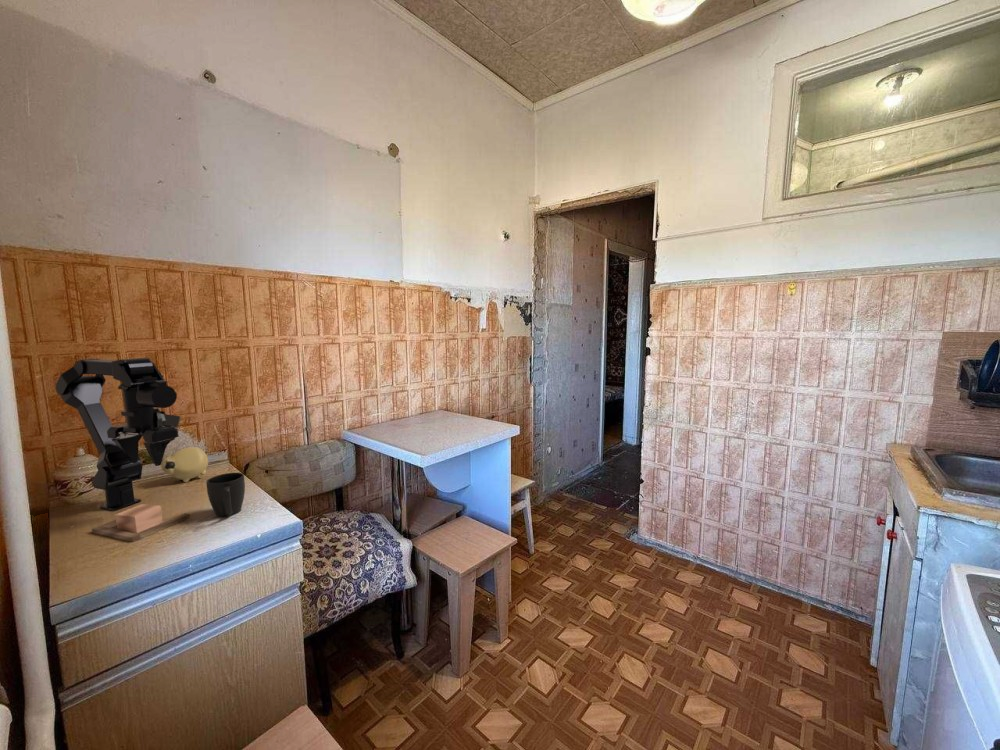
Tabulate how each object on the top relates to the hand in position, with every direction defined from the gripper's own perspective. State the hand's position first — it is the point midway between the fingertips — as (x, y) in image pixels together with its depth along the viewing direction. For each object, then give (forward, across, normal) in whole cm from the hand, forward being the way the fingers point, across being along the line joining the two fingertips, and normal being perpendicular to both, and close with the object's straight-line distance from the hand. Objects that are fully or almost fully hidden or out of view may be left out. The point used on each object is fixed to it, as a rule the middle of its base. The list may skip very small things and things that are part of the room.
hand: (146, 463), depth 107 cm
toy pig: (+13, +15, -19) cm, 28 cm away
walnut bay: (+13, -7, +6) cm, 16 cm away
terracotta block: (+13, -8, +7) cm, 17 cm away
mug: (+13, -23, -4) cm, 27 cm away
